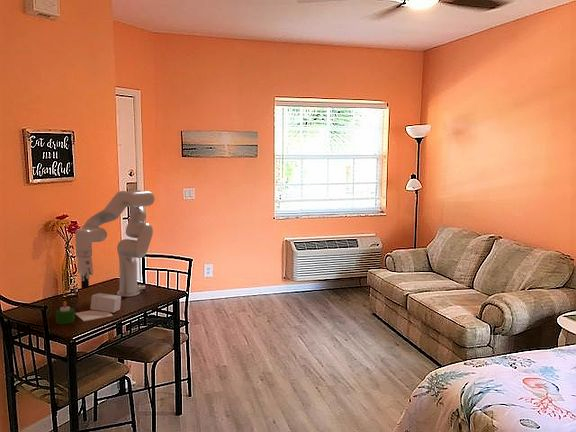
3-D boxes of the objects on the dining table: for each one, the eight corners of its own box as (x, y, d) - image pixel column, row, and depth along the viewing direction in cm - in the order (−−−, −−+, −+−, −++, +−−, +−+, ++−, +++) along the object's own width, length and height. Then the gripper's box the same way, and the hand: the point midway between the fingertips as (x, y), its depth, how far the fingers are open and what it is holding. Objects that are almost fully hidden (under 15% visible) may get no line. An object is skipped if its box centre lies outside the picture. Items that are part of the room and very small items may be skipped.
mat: (103, 309, 258) (103, 308, 258) (112, 316, 248) (112, 314, 248) (75, 314, 249) (75, 313, 249) (83, 321, 239) (83, 320, 239)
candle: (52, 321, 237) (51, 301, 236) (67, 317, 244) (67, 297, 243) (63, 325, 233) (62, 304, 232) (78, 320, 240) (78, 300, 239)
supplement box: (90, 309, 253) (113, 313, 251) (91, 295, 252) (114, 298, 250) (97, 306, 260) (120, 309, 258) (99, 292, 260) (121, 295, 258)
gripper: (96, 255, 252) (97, 290, 254) (86, 249, 263) (87, 283, 265) (81, 256, 247) (82, 292, 249) (71, 251, 258) (72, 285, 261)
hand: (85, 287), depth 257 cm, fingers closed
